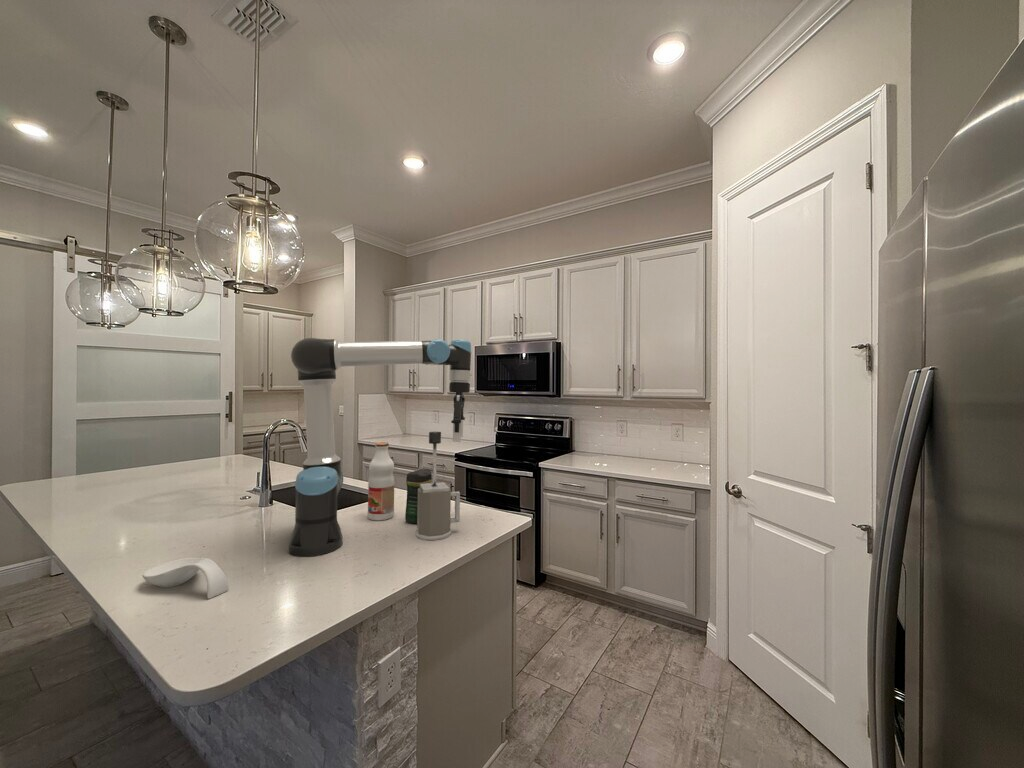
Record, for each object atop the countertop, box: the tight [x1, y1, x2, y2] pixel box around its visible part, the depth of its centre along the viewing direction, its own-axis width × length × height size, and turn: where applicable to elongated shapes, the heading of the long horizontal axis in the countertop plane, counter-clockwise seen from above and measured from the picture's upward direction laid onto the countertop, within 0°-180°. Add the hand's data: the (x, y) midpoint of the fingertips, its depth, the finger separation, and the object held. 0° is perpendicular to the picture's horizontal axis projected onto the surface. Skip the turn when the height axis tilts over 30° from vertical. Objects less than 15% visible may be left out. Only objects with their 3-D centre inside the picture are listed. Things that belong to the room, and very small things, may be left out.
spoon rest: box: [141, 557, 230, 600], centre depth 103 cm, size 24×12×7 cm, turn 68°
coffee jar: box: [404, 468, 433, 524], centre depth 154 cm, size 10×8×19 cm
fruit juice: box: [367, 441, 395, 521], centre depth 158 cm, size 9×9×28 cm
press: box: [415, 481, 461, 541], centre depth 141 cm, size 14×12×16 cm
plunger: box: [428, 431, 442, 487], centre depth 140 cm, size 8×8×20 cm
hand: (457, 439), depth 154 cm, fingers open, 13 cm apart
